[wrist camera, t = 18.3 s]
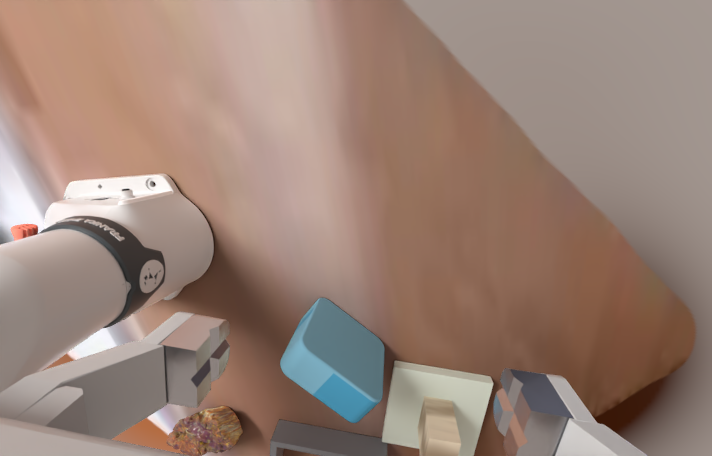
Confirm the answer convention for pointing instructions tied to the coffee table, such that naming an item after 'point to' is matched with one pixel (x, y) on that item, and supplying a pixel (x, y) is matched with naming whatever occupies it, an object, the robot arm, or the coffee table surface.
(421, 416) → the birch box
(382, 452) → the bin
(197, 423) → the mineral specimen
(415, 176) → the coffee table surface
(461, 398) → the board
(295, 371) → the data package
